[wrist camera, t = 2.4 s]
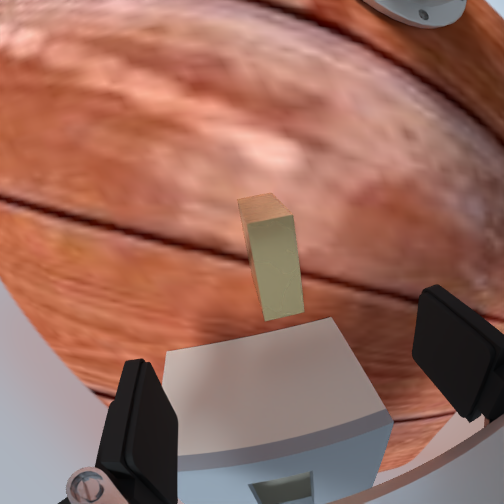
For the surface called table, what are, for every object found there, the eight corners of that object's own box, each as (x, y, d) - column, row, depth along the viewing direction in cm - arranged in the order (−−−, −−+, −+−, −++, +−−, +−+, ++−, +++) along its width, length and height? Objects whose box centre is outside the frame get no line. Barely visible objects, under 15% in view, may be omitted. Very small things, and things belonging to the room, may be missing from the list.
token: (237, 199, 18) (246, 223, 13) (271, 192, 18) (292, 214, 13) (252, 276, 20) (264, 321, 15) (283, 269, 20) (304, 312, 15)
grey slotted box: (166, 351, 21) (153, 472, 12) (331, 316, 21) (393, 422, 12) (209, 440, 25) (216, 531, 16) (332, 414, 26) (367, 498, 17)
